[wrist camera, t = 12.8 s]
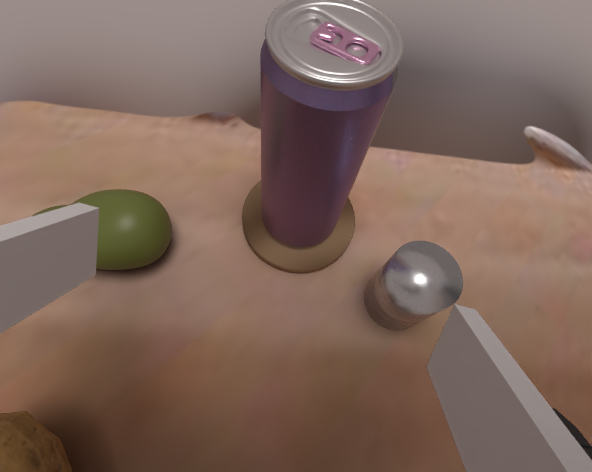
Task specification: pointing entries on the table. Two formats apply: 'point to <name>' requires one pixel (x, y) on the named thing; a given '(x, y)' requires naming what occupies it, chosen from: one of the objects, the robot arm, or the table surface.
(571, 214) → the table surface
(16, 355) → the table surface
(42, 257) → the robot arm
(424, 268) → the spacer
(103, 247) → the pear
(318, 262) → the coaster
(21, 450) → the potato
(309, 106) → the beverage can
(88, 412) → the table surface
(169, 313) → the table surface
